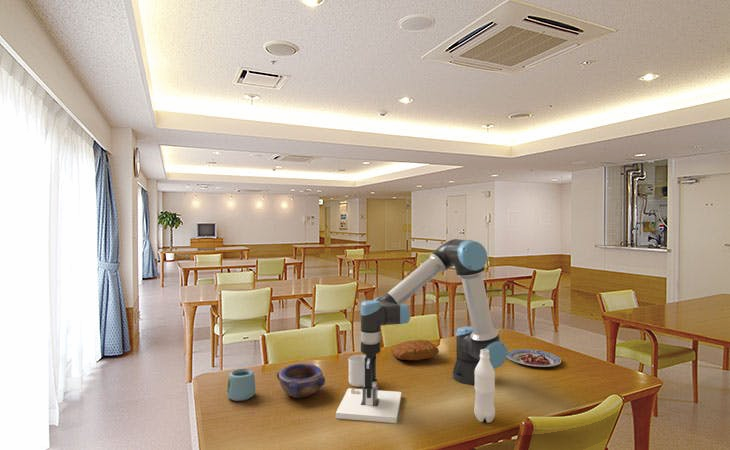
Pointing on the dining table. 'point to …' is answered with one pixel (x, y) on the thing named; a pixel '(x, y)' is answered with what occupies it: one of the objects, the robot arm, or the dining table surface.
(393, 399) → the socket plate
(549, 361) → the ceramic plate
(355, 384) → the mug
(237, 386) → the mug
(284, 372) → the bowl
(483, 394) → the water bottle
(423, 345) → the bread loaf
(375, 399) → the plug
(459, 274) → the robot arm
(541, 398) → the dining table surface
